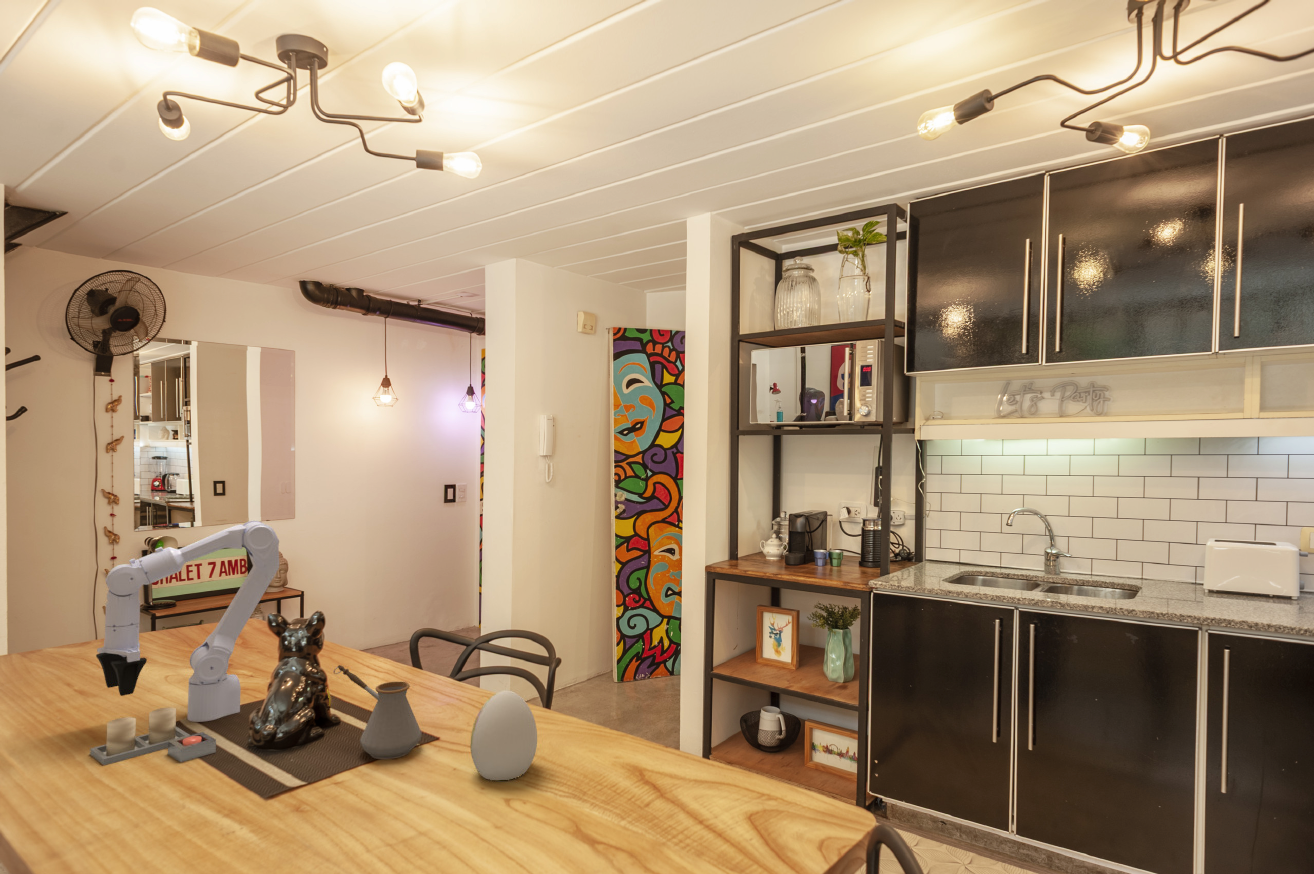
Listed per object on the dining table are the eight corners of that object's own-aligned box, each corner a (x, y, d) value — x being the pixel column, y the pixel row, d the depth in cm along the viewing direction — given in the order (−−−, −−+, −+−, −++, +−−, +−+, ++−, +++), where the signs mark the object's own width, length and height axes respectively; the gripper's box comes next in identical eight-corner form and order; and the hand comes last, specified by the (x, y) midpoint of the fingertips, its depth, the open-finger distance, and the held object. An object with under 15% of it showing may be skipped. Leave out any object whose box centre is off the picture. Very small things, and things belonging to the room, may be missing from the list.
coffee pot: (433, 746, 146) (435, 672, 146) (390, 768, 136) (392, 688, 136) (357, 727, 155) (359, 657, 156) (311, 746, 145) (313, 671, 145)
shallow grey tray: (175, 737, 148) (176, 726, 148) (191, 746, 144) (191, 735, 144) (89, 760, 137) (90, 748, 137) (103, 771, 132) (103, 759, 132)
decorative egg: (513, 752, 144) (514, 677, 144) (549, 772, 135) (551, 692, 135) (457, 770, 135) (459, 690, 136) (492, 793, 127) (494, 707, 127)
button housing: (202, 749, 142) (202, 731, 142) (215, 757, 139) (215, 739, 139) (167, 759, 138) (168, 741, 138) (180, 768, 134) (180, 749, 134)
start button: (197, 747, 140) (197, 734, 140) (203, 751, 138) (204, 738, 138) (179, 752, 138) (180, 739, 138) (186, 756, 136) (186, 743, 136)
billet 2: (172, 735, 146) (173, 705, 146) (177, 742, 143) (178, 712, 143) (146, 741, 143) (147, 711, 143) (150, 748, 140) (151, 717, 140)
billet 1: (130, 746, 140) (131, 715, 141) (138, 752, 138) (139, 720, 138) (102, 753, 137) (103, 721, 137) (110, 760, 134) (111, 727, 134)
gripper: (87, 621, 150) (84, 687, 149) (111, 633, 141) (108, 703, 141) (127, 616, 155) (125, 679, 155) (153, 626, 147) (150, 694, 146)
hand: (120, 690), depth 148 cm, fingers open, 7 cm apart
